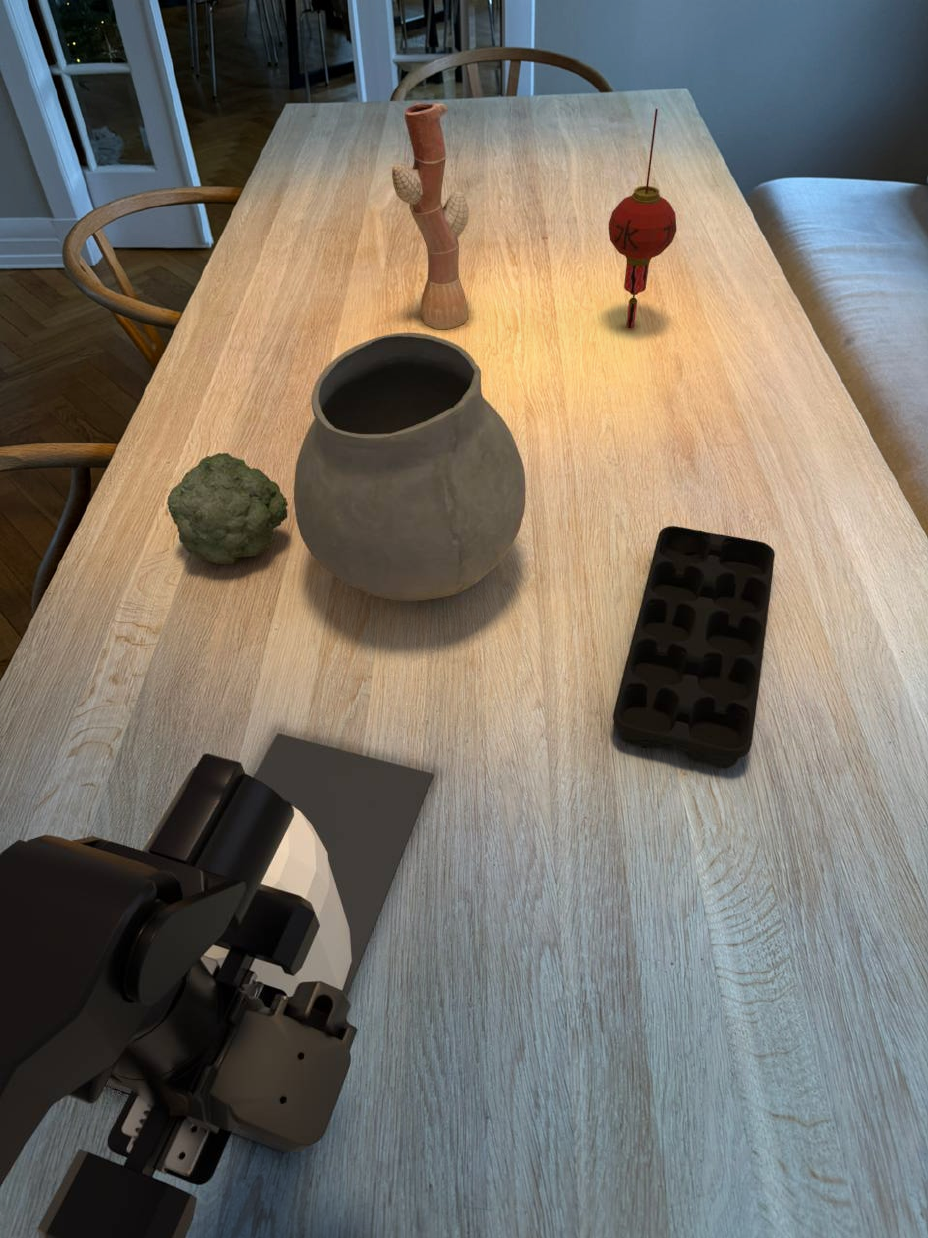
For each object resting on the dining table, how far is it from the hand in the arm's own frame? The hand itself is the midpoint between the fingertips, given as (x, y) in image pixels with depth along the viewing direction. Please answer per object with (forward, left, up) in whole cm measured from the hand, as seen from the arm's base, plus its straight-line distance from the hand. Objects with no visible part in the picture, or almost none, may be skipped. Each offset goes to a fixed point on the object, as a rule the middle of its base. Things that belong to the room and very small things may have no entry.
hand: (231, 1100), depth 52 cm
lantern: (+115, -4, -13) cm, 116 cm away
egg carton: (+54, -22, -13) cm, 60 cm away
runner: (+16, +7, -13) cm, 22 cm away
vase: (+110, +25, -13) cm, 114 cm away
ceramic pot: (+58, +10, -13) cm, 60 cm away
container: (+12, +6, -13) cm, 19 cm away
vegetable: (+56, +32, -13) cm, 66 cm away
